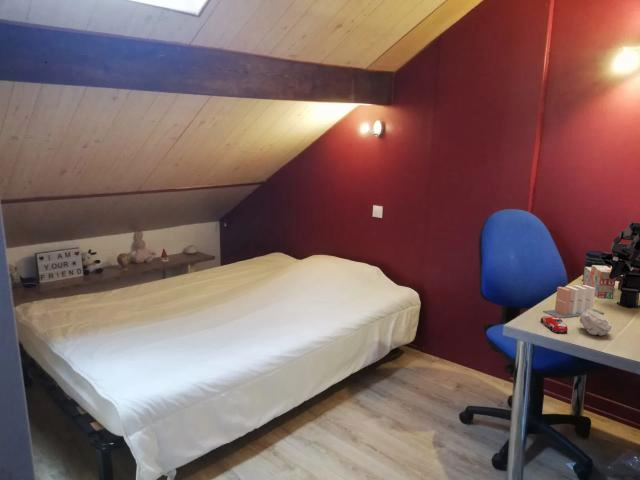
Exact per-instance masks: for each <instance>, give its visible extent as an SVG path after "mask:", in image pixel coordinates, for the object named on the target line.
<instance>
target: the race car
mask: <svg viewBox="0 0 640 480" xmlns="http://www.w3.org/2000/svg"><path fill="white" fill-rule="evenodd" d="M540 323H541V324H543V326H545V327H547V329H548V330H550V331H551V332H554V333H563V334H564V333H565V334H567V333H568V331H569V329H568V325H567V324H566V323H565V321H564V320H562V318H557V317H554V316H551V315H547V316H546V315H545V316H542V317H540Z"/></svg>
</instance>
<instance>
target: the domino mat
mask: <svg viewBox="0 0 640 480" xmlns="http://www.w3.org/2000/svg"><path fill="white" fill-rule="evenodd" d="M592 311H594V312H597V313H599V314H601V315H604V312H602V311H599V310H597V309H595V308H593V310H592ZM543 313H545V314H548V316H551V317H557V318H560V319H566V318H567V319H568V318H569V319H570V318H580V316H581V315H582V314H580V313H578V312H576V314H570V313H568V315H562V314H560V313H558V312H555V309H550V310H549V309H548V310H543Z"/></svg>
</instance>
